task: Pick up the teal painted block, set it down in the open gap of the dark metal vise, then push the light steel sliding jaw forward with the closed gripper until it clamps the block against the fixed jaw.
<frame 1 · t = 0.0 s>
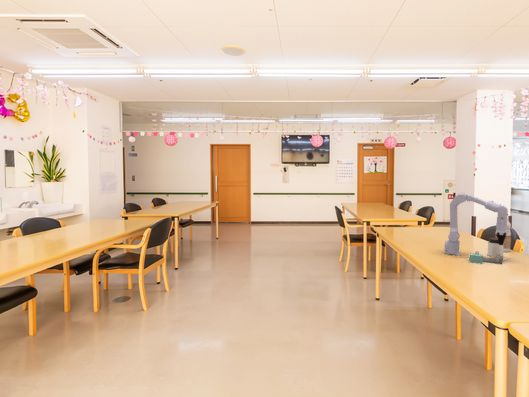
hand: (501, 244, 232), 10 cm above the table, tool pointing down, fingers open, 7 cm apart
vise: (485, 260, 228), on the table
jar: (495, 256, 241), on the table
fruit juice: (502, 251, 256), on the table
block: (475, 262, 225), on the table
jaw: (476, 255, 231), point 3 cm above the table, slide at 0.0 cm
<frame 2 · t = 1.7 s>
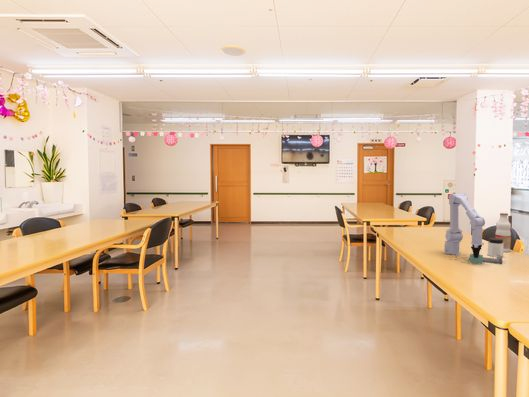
hand: (476, 256, 224), 4 cm above the table, tool pointing down, fingers open, 6 cm apart
jaw: (477, 255, 231), point 3 cm above the table, slide at 0.1 cm, touching gripper
everything else where it was.
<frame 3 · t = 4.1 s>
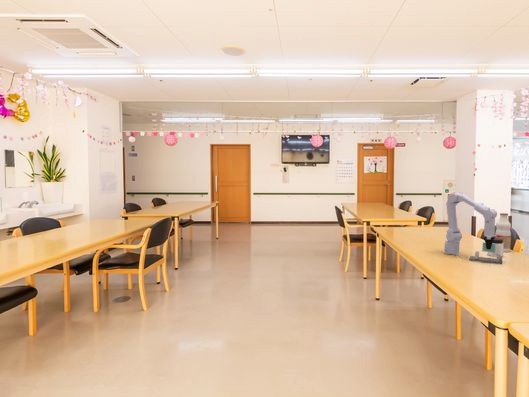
hand: (488, 248, 227), 8 cm above the table, tool pointing down, fingers closed on block, 4 cm apart
block: (488, 251, 227), point 7 cm above the table, touching gripper
jaw: (477, 255, 231), point 3 cm above the table, slide at 0.1 cm
everything else where it was.
when the fingers open (4 cm above the table, at t = 5.5 s): block stays where it is, resting on vise.
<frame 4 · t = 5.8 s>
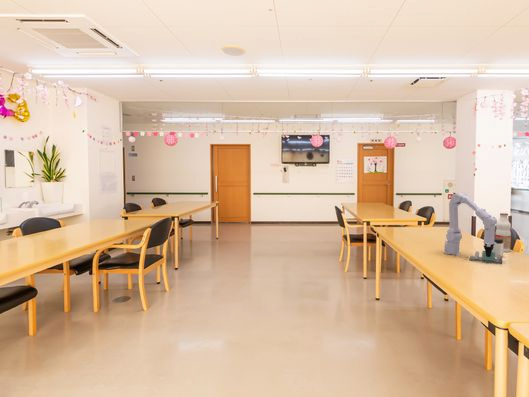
hand: (488, 255, 227), 4 cm above the table, tool pointing down, fingers open, 7 cm apart
block: (488, 259, 227), point 1 cm above the table, touching vise
everything else where it was.
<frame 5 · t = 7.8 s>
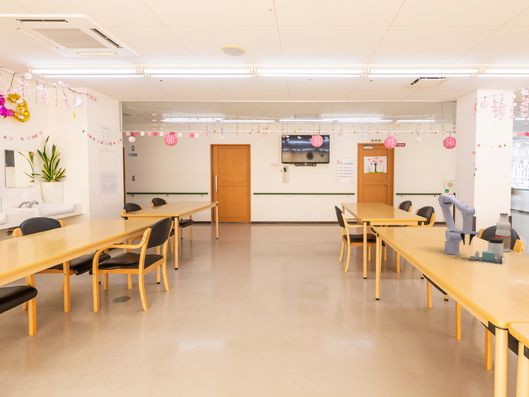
hand: (466, 244, 234), 9 cm above the table, tool pointing down, fingers open, 3 cm apart
nothing on the table moved.
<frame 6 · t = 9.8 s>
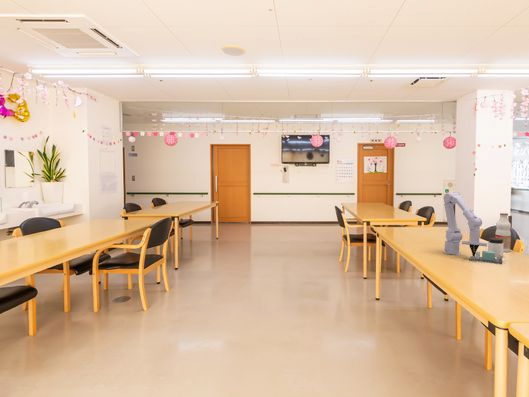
hand: (473, 255, 232), 2 cm above the table, tool pointing down, fingers closed
jaw: (477, 255, 231), point 3 cm above the table, slide at 0.6 cm, touching gripper
everything else where it was.
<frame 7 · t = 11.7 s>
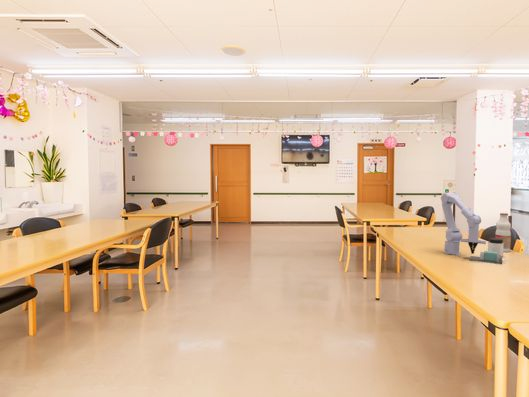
hand: (472, 253, 233), 4 cm above the table, tool pointing down, fingers closed
jaw: (482, 255, 229), point 3 cm above the table, slide at 3.0 cm
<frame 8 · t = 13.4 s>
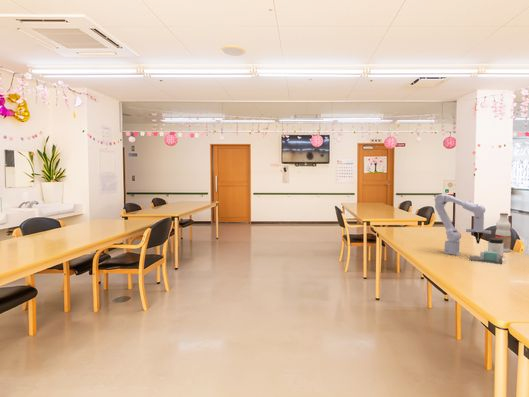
hand: (477, 243, 236), 10 cm above the table, tool pointing down, fingers closed
nothing on the table moved.
at the end: jaw slide at 3.0 cm; block 0.5 cm from the target spot on the vise, point 1.0 cm above the vise's base; block tilted 0° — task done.
